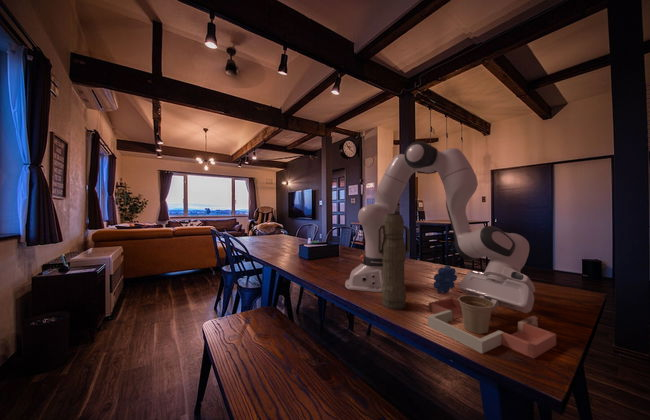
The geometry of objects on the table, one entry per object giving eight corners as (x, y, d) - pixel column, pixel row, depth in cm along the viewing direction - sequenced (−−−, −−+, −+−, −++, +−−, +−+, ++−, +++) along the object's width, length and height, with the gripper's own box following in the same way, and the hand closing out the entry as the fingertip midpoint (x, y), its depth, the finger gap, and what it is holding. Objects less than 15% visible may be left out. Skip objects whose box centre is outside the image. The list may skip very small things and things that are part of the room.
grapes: (449, 288, 109) (449, 262, 109) (460, 293, 103) (460, 265, 103) (427, 290, 106) (427, 264, 106) (437, 296, 100) (437, 267, 100)
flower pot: (501, 339, 67) (501, 308, 67) (464, 335, 69) (464, 306, 69) (486, 323, 76) (486, 296, 76) (454, 320, 78) (454, 294, 78)
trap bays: (451, 304, 91) (451, 296, 91) (556, 345, 64) (556, 333, 64) (428, 311, 85) (428, 303, 85) (533, 358, 58) (533, 346, 58)
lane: (482, 307, 88) (482, 299, 88) (537, 326, 74) (537, 317, 74) (467, 312, 84) (467, 304, 84) (522, 334, 70) (522, 323, 70)
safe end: (448, 318, 80) (448, 309, 80) (504, 343, 65) (504, 332, 65) (427, 325, 75) (427, 316, 75) (482, 353, 60) (482, 342, 60)
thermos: (414, 308, 88) (413, 213, 88) (383, 310, 86) (382, 214, 86) (403, 299, 97) (403, 213, 96) (375, 301, 95) (374, 213, 95)
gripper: (465, 264, 87) (448, 295, 83) (534, 278, 69) (517, 319, 65) (472, 274, 89) (456, 305, 85) (542, 291, 71) (526, 331, 67)
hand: (483, 312), depth 75 cm, fingers closed, pressing on flower pot
